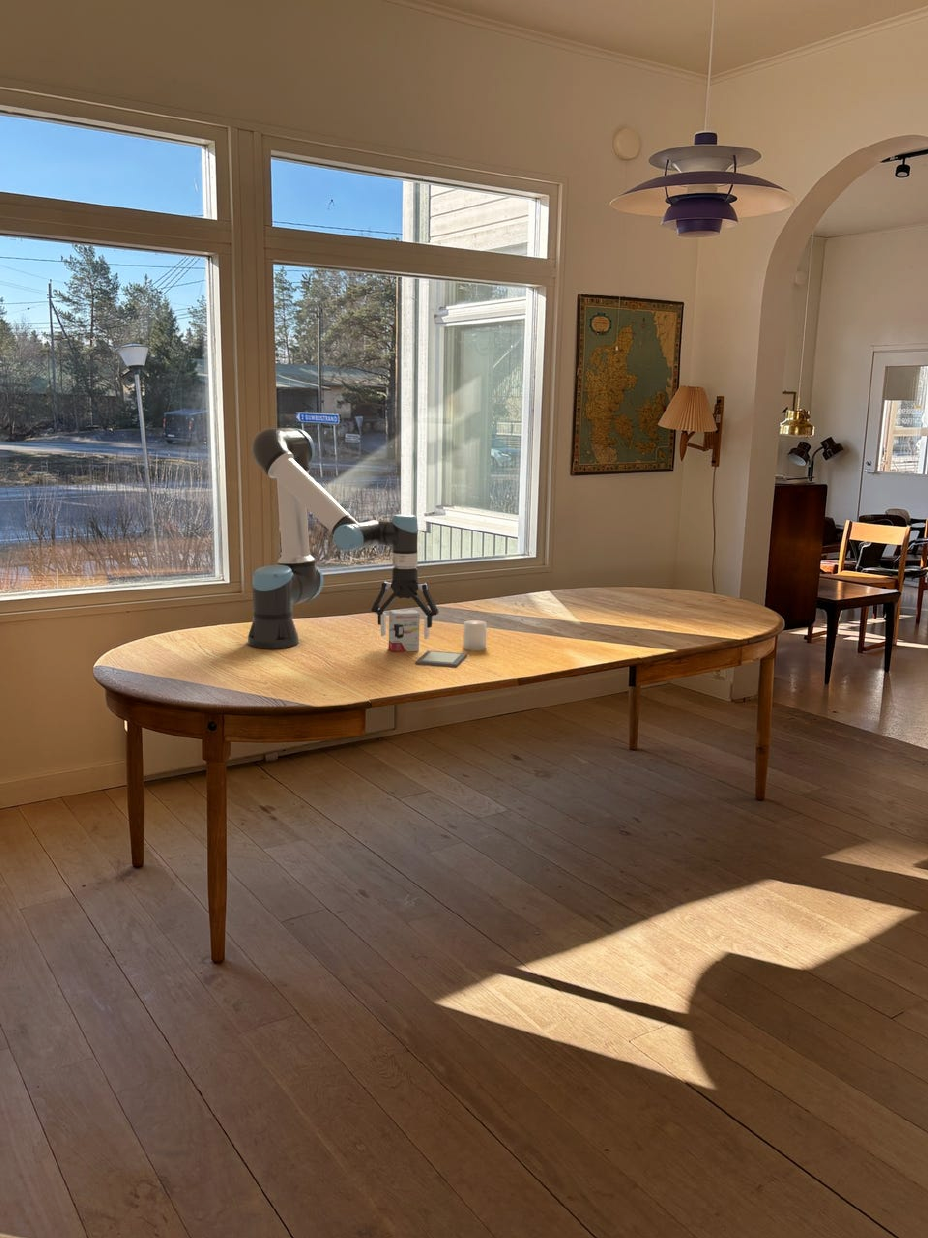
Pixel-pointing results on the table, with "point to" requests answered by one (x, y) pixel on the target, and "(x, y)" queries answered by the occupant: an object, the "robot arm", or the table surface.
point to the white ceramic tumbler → (474, 635)
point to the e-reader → (441, 658)
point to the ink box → (404, 630)
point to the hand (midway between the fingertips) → (404, 636)
